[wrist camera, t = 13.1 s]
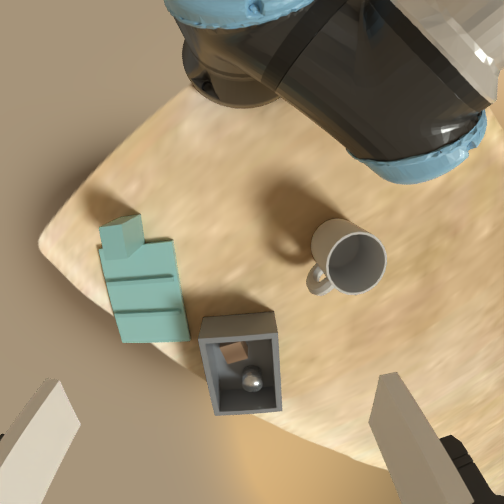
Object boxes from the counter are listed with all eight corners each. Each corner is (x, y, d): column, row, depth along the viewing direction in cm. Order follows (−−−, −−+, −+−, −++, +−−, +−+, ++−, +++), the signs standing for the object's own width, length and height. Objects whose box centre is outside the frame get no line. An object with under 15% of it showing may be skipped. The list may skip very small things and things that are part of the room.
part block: (220, 336, 44) (219, 347, 41) (240, 330, 44) (240, 341, 41) (228, 352, 45) (227, 364, 42) (247, 346, 44) (247, 358, 42)
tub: (203, 317, 44) (197, 338, 38) (273, 311, 44) (277, 332, 38) (217, 390, 48) (214, 415, 42) (278, 386, 48) (282, 410, 42)
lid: (95, 220, 40) (71, 231, 33) (168, 210, 40) (154, 220, 33) (124, 340, 45) (108, 365, 38) (190, 338, 45) (183, 365, 38)
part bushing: (247, 362, 45) (247, 373, 42) (265, 368, 46) (266, 380, 43) (239, 376, 46) (238, 388, 43) (256, 382, 46) (257, 394, 43)
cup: (370, 242, 41) (398, 262, 33) (320, 293, 43) (336, 323, 35) (336, 206, 40) (359, 217, 31) (284, 260, 42) (293, 284, 33)
